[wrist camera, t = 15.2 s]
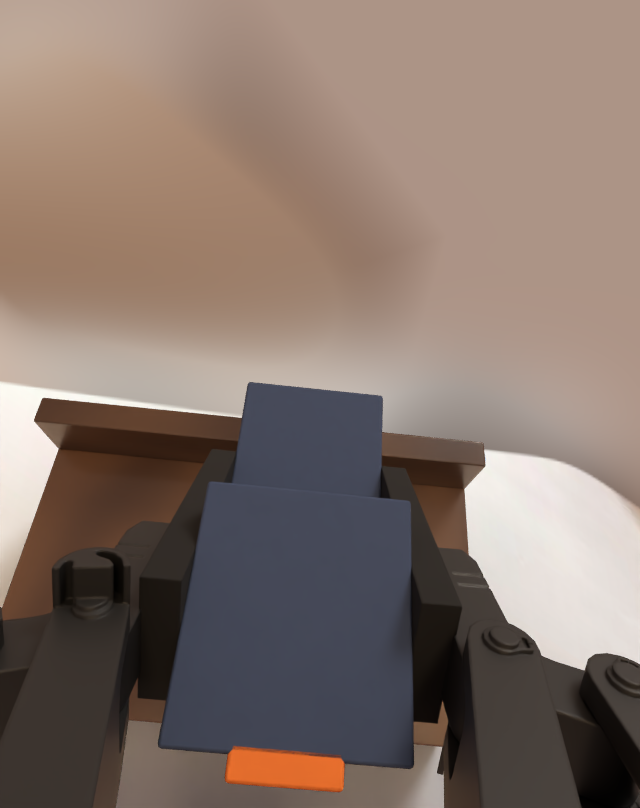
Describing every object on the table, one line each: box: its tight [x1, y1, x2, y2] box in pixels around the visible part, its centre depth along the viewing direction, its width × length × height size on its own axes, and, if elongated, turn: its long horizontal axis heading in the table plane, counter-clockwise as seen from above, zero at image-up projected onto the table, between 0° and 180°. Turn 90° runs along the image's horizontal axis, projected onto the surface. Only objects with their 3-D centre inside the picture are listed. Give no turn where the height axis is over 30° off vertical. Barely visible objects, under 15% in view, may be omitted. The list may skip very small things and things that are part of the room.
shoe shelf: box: [2, 398, 485, 747], centre depth 24 cm, size 20×12×9 cm, turn 86°
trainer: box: [158, 382, 414, 792], centre depth 15 cm, size 10×5×8 cm, turn 176°
